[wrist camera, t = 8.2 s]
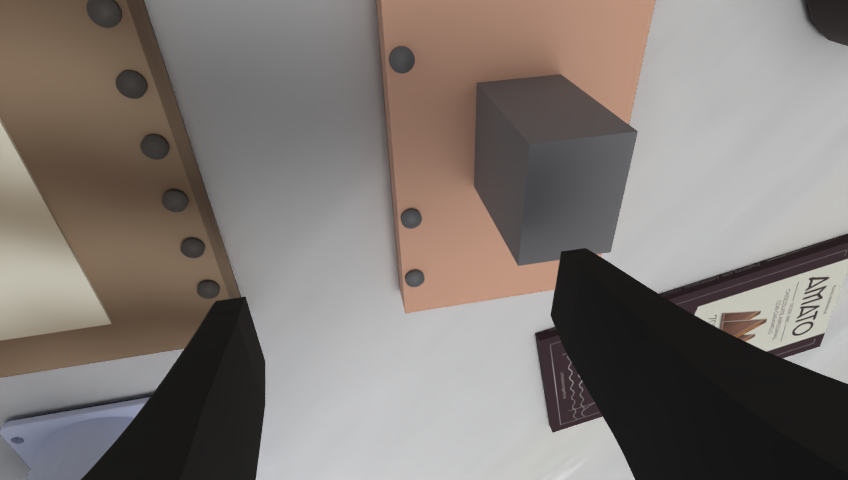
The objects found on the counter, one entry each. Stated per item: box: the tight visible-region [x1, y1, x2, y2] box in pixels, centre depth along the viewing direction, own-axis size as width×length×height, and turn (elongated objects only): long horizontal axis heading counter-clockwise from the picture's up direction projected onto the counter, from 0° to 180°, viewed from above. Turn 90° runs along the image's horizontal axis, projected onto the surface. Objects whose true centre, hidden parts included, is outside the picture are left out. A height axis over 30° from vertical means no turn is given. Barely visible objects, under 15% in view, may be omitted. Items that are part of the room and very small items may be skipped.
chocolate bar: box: [535, 234, 848, 432], centre depth 30 cm, size 9×1×18 cm
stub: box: [376, 0, 655, 313], centre depth 17 cm, size 16×9×6 cm, turn 2°
